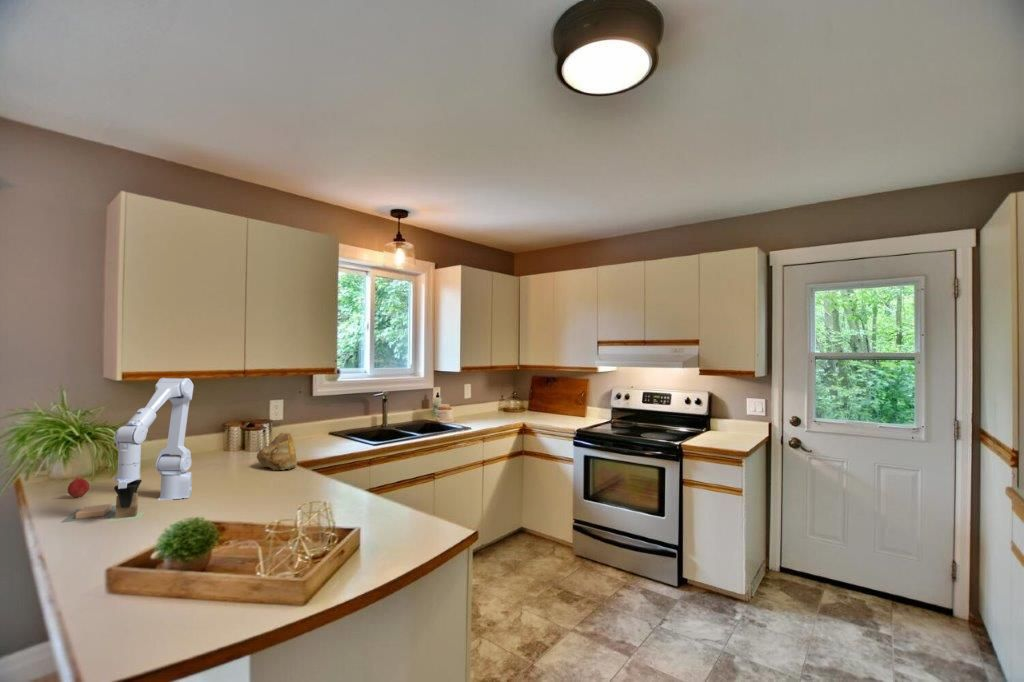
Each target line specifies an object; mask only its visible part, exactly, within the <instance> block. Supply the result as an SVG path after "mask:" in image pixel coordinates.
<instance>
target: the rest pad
mask: <svg viewBox="0 0 1024 682" xmlns="http://www.w3.org/2000/svg"><path fill="white" fill-rule="evenodd" d="M144 513H145V511H141V512H139V511H137V515H136V516H135V517H126V518H117V519H116V515H115V516H114V517H110V518H109V519H108V521H107V523H113V522H119V521H128V520H137V519H140V518H141V517H142V516H143V514H144Z"/></svg>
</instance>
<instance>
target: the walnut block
mask: <svg viewBox="0 0 1024 682" xmlns="http://www.w3.org/2000/svg"><path fill="white" fill-rule="evenodd" d="M138 502H139V492H136V493H133V497H132V502H131V505H130V507H126V508H121V505H120V500H119V496H118V495H117V496H116V501H115V504H116V519H117V518H126V517H135V516H136V515H137V513H138V505H139V503H138Z"/></svg>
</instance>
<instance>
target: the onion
mask: <svg viewBox="0 0 1024 682" xmlns="http://www.w3.org/2000/svg"><path fill="white" fill-rule="evenodd" d="M89 490H90V483H89V481H87V480H86V479H84V478H82V476H81V475H79V476H77V478H76V479H74V480H73V481H71V482H70V484H69V485H68V487H67V493H68V495H70V497H74V498H75V499H78V498H79V497H80V498H82V497H83V496H85V494H87V492H88V491H89ZM80 498H79V499H80Z"/></svg>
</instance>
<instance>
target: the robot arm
mask: <svg viewBox="0 0 1024 682" xmlns="http://www.w3.org/2000/svg"><path fill="white" fill-rule="evenodd" d="M154 389H155V392H154V393H153V394H152V396H151V397H150V399H149V401H148V402H147V404H146V405H145V407H142V408H139V409H138V410H137V411H136V412H135V413H134V414H133V416H132V417H131V418H130V419H129V421H128V422H127V423H126V424H125V425H122V426H121V427H119V428H118V429H117V430H116V431H115V435H113V440H114V442H115V444H116V446H115V447H116V449H117V450H118V453H117V474H116V475H117V476H116V477H113V478H112V479H111V480H112V482H115V481H116V482H117V485H115V486H114V487H113V488H114V491H115V492H116V494H117V496H119V500H120V505H121V508H126V507H130V505H131V502H132V497H133V493H138V492H137V491H138V488H139V487H140V485H141V483H142V479H141V457H142V443H143V442H144V441H146V438H147V436H148V435H147V434H148V432H149V428H150V427H151V425H152V424H153V423H154V421H155V420H156V419H157V411H158V410H159V409H160V408H161V407H162V406H163V405H164V404H165V403H166V402H167V401H170V402H171V404H172V405H171V406H172V407H171V412H170V420H169V426H168V427H169V429H168V432H167V433H168V435H167V443H166V447H164V448H162V449H161V450H159V452H158V456H157V459H156V461H155V463H154V464H155V465H154V466H155V469H156V471H157V472H159V473H158V475H160V493H159V494H160V496H159V497H158V498H157V499H156V501H157V502H158V501H168V500H169V501H170V500H173V499H174V500H181V499H182V498H184V499H189V498H190V496H191V495H192V492H193V491H192V490H193V487H192V485H193V472H192V471H189V469H190V468H191V467H192V462H193V461H192V456H191V455H192V454H191V453H192V452H191V450H190V449H189V448H187V447H186V446H185V439H186V432H187V424H188V423H187V422H188V415H189V409H190V402H191V401H192V400H193V395H194V394H193V393H194V383H193V382H192V380H191V379H190V378H188V377H184V378H175V377H173V378H167V377H161V378H159V379H158V381H157V383H156V384H155V386H154Z"/></svg>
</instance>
